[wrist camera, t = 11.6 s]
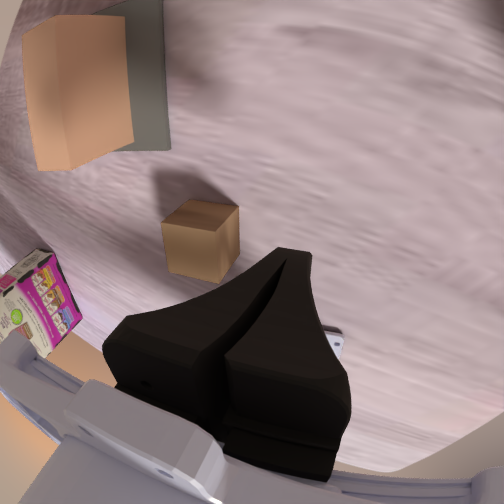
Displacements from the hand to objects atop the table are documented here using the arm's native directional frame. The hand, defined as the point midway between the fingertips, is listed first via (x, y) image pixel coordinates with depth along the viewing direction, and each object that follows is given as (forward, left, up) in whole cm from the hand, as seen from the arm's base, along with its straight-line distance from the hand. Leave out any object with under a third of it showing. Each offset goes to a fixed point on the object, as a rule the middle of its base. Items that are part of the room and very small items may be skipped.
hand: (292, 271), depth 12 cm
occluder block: (+8, +16, -9) cm, 20 cm away
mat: (+8, +16, -9) cm, 20 cm away
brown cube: (-4, +8, -10) cm, 13 cm away
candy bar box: (-16, +33, -10) cm, 38 cm away
